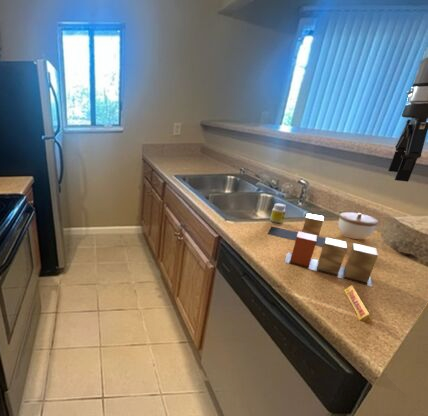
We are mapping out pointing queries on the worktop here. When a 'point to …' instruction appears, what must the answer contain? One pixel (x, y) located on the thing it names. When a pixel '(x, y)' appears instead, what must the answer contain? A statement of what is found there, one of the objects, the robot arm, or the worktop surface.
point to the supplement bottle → (278, 214)
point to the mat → (291, 235)
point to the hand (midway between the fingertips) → (397, 176)
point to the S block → (303, 248)
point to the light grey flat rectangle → (314, 265)
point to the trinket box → (356, 225)
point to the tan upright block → (332, 255)
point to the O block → (313, 224)
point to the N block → (360, 262)
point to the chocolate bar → (358, 305)
